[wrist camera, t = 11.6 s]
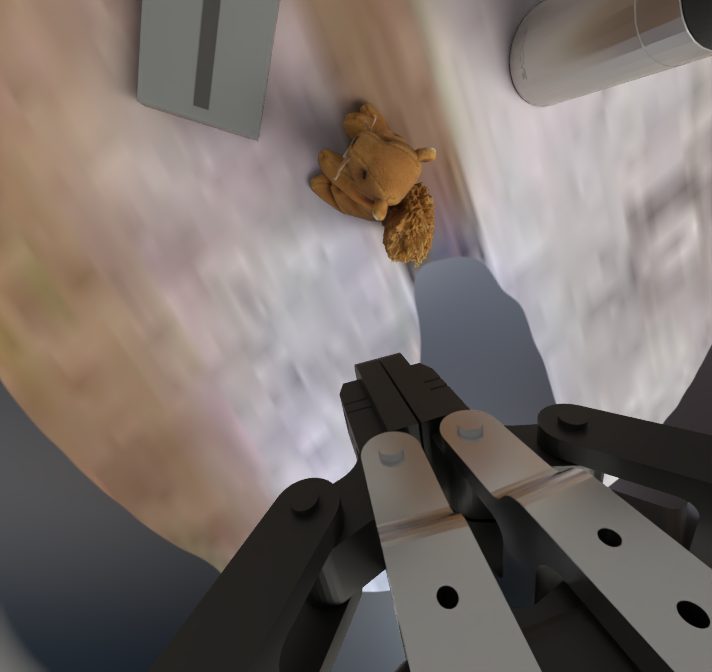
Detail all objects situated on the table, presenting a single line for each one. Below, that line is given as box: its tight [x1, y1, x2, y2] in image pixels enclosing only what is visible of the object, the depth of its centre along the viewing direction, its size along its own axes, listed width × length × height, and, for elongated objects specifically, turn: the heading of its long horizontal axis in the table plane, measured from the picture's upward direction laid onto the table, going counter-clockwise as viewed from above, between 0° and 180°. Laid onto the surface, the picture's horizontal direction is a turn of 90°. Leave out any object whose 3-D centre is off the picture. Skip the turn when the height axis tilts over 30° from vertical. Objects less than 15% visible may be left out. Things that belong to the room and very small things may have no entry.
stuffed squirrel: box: [311, 103, 436, 267], centre depth 33 cm, size 10×14×13 cm
